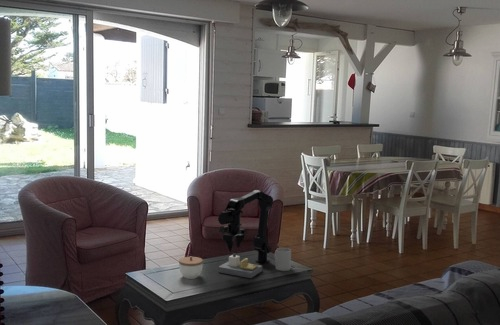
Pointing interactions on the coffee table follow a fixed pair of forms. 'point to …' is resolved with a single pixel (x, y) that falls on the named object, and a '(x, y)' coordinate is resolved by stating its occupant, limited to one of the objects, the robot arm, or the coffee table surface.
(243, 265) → the tan piece
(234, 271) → the socket block
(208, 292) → the coffee table surface
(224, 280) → the coffee table surface
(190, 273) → the lidded bowl
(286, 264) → the mug
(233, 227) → the robot arm
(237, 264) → the plug
